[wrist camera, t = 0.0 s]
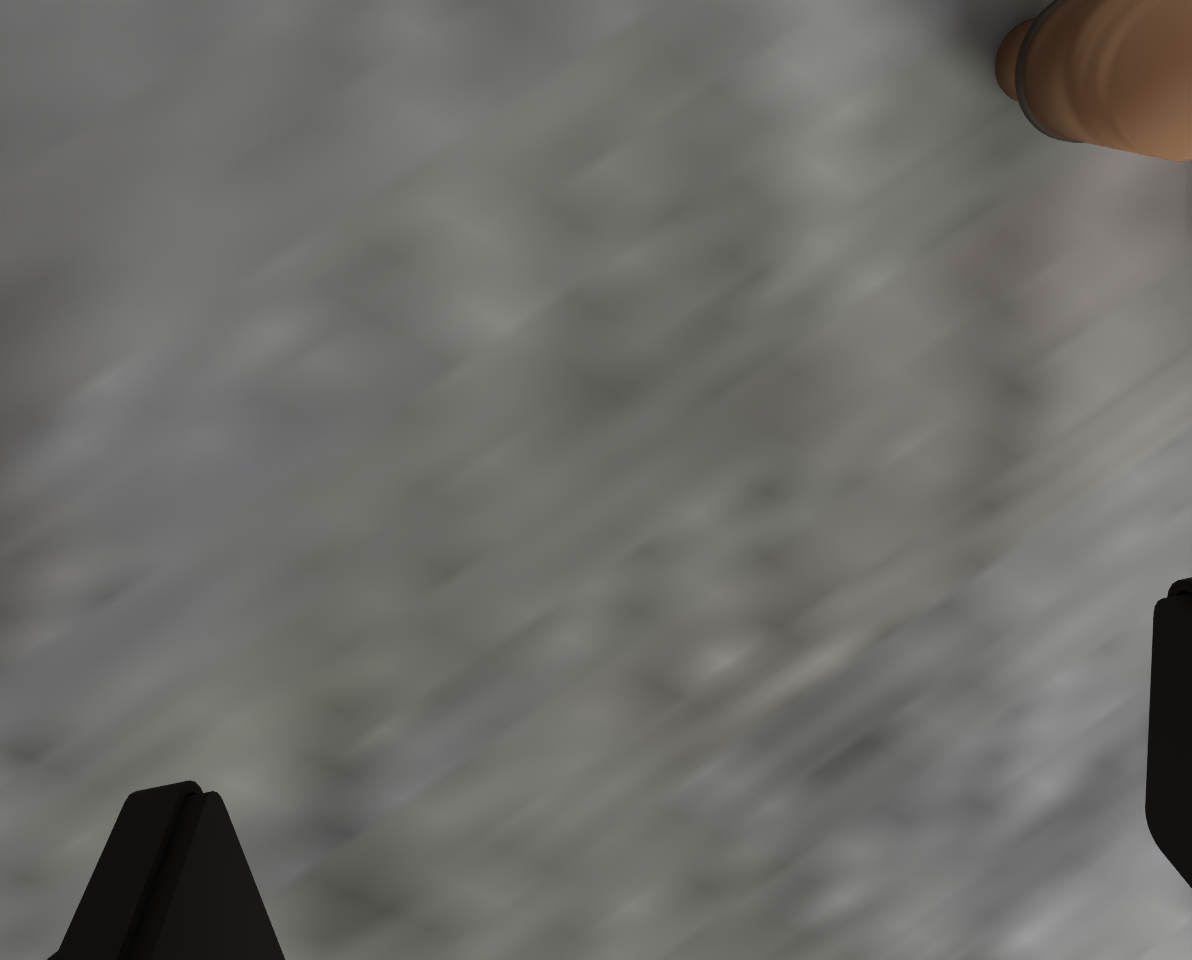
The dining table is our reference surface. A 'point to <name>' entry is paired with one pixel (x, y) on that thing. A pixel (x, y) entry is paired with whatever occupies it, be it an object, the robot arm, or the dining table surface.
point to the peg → (1106, 74)
